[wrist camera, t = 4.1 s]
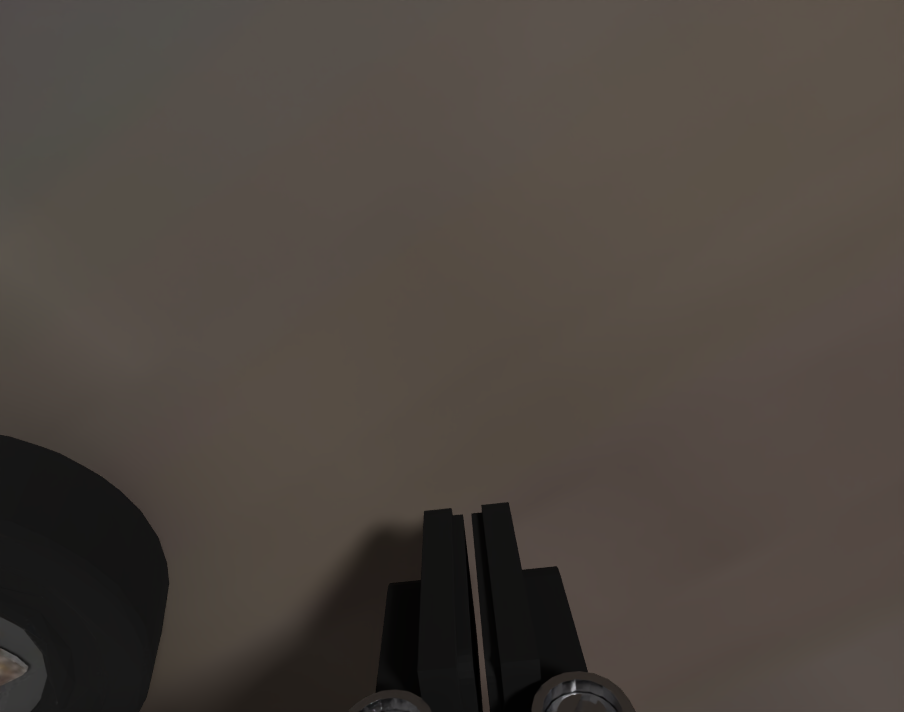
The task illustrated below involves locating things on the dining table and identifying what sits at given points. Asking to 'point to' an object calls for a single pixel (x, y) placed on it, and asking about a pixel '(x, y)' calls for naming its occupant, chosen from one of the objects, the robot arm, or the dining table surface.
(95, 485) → the caster wheel
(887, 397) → the dining table surface
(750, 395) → the dining table surface
